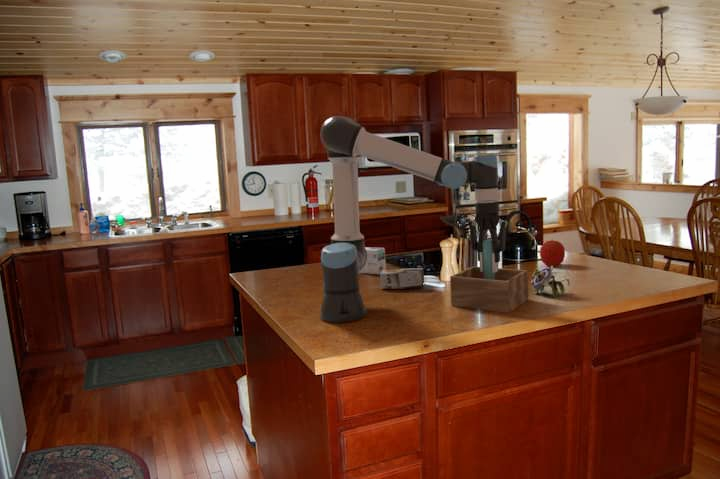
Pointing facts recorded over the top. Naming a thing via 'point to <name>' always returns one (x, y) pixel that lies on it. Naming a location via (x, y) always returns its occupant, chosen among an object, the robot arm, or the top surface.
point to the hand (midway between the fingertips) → (489, 271)
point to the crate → (489, 289)
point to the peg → (488, 259)
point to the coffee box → (402, 278)
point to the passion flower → (547, 281)
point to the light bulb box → (374, 261)
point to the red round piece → (552, 253)
